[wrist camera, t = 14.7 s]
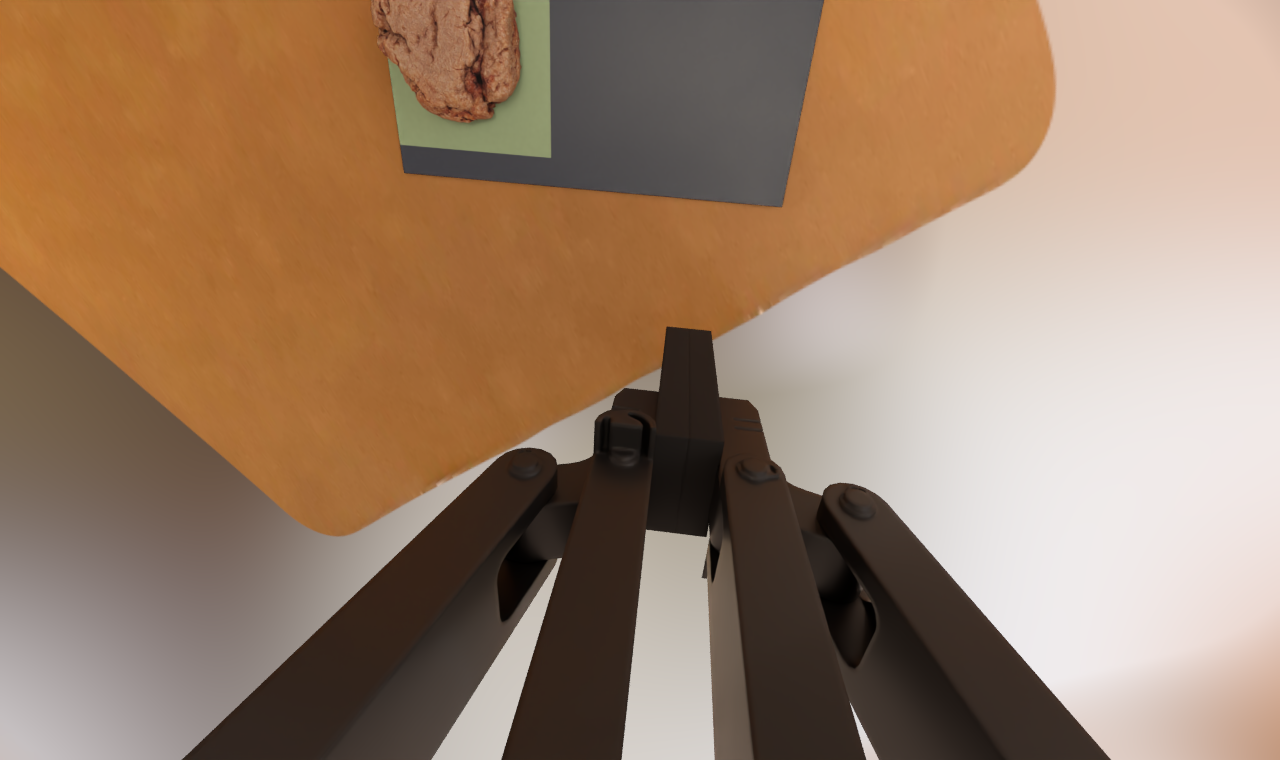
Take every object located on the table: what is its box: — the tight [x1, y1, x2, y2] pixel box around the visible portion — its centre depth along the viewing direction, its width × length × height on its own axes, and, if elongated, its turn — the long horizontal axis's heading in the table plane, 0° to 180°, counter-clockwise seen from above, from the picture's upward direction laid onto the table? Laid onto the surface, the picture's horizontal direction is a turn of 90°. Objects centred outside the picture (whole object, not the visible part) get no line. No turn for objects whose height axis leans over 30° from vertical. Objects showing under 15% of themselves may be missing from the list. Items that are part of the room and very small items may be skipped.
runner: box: [388, 0, 824, 207], centre depth 33 cm, size 18×30×1 cm, turn 86°
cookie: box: [371, 0, 521, 123], centre depth 32 cm, size 10×11×3 cm
